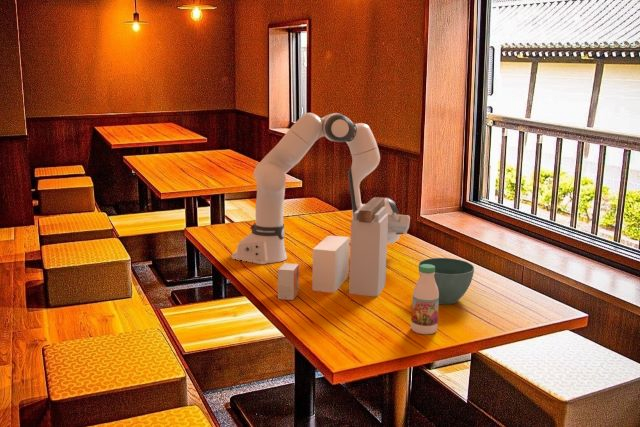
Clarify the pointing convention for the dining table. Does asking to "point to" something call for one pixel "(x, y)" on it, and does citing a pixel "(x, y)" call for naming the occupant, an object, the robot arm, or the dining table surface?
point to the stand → (368, 254)
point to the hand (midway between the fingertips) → (380, 213)
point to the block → (330, 263)
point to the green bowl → (451, 278)
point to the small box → (288, 281)
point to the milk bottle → (425, 302)
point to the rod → (371, 209)
